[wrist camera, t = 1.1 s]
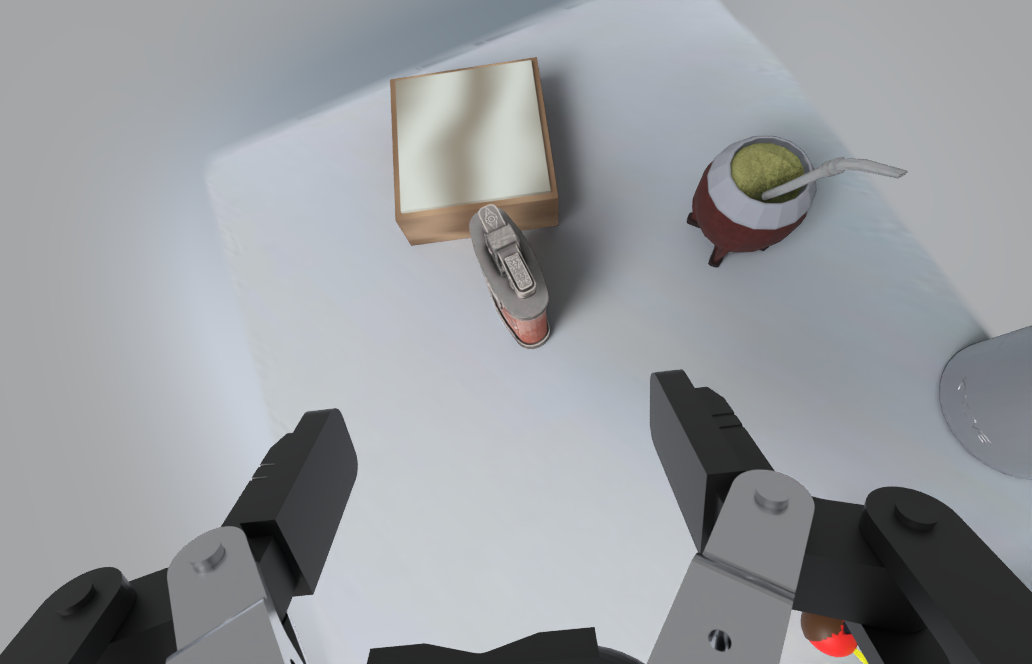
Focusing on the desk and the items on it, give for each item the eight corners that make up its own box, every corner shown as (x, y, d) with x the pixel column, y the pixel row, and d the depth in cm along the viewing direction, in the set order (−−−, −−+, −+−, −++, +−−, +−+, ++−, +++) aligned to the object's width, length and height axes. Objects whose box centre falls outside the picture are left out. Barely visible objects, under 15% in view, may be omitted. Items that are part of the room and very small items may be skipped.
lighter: (476, 267, 38) (449, 198, 29) (514, 250, 38) (501, 175, 29) (518, 356, 36) (505, 313, 26) (559, 337, 36) (561, 287, 27)
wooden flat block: (538, 94, 43) (536, 54, 38) (558, 225, 39) (558, 195, 35) (405, 114, 43) (388, 76, 39) (411, 245, 39) (394, 218, 35)
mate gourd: (698, 181, 39) (780, 8, 25) (797, 215, 37) (946, 52, 23) (664, 259, 37) (731, 122, 23) (766, 298, 36) (907, 177, 21)
